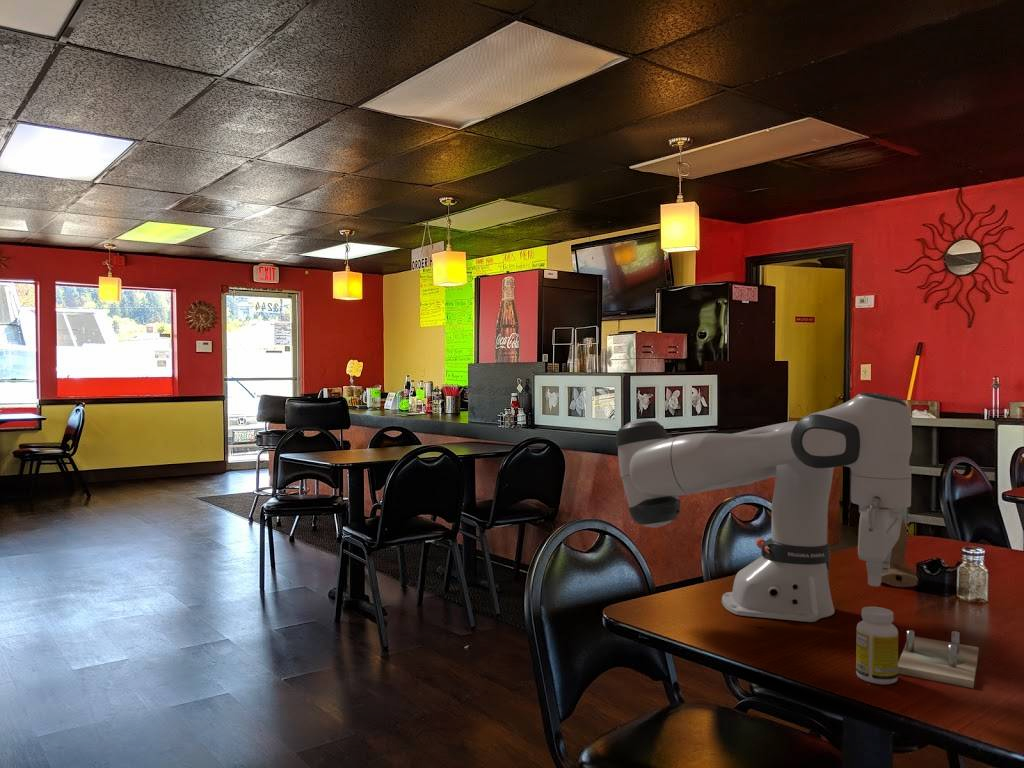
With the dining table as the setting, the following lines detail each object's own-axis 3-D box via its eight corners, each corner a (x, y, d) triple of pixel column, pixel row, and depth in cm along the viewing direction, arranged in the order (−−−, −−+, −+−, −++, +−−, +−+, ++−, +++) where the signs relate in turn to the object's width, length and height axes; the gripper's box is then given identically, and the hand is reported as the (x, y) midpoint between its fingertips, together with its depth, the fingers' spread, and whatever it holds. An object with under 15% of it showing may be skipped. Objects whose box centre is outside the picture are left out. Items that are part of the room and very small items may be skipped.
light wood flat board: (973, 688, 124) (973, 680, 124) (896, 673, 130) (896, 665, 130) (978, 654, 139) (978, 646, 139) (909, 642, 145) (909, 635, 145)
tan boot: (859, 570, 197) (860, 511, 197) (912, 575, 193) (913, 514, 193) (866, 586, 182) (867, 522, 182) (923, 591, 179) (924, 525, 178)
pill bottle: (902, 677, 128) (903, 610, 128) (891, 689, 123) (892, 619, 123) (862, 667, 132) (864, 602, 132) (850, 678, 127) (851, 610, 127)
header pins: (956, 668, 129) (956, 646, 129) (903, 658, 133) (903, 637, 133) (959, 652, 136) (959, 632, 136) (909, 643, 141) (909, 623, 141)
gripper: (893, 504, 117) (892, 597, 117) (909, 487, 134) (907, 568, 134) (848, 500, 120) (846, 590, 120) (869, 484, 137) (867, 563, 137)
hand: (878, 578), depth 127 cm, fingers open, 8 cm apart
